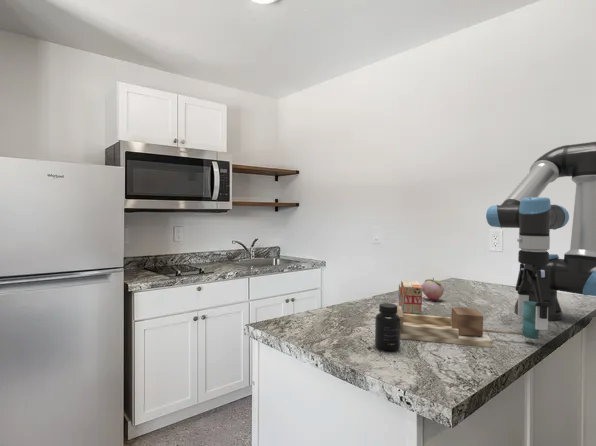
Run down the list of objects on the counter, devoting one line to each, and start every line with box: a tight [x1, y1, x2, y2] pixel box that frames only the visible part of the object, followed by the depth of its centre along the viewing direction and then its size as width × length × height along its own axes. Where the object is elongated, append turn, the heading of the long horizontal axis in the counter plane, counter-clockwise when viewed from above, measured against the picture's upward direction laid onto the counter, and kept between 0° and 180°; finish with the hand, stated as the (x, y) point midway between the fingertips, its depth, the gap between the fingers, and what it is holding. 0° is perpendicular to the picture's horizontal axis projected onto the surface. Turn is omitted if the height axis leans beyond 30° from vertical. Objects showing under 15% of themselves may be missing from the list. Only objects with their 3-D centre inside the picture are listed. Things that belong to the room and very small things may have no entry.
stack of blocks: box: [398, 279, 423, 315], centre depth 137 cm, size 21×6×12 cm, turn 169°
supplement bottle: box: [374, 302, 401, 353], centre depth 100 cm, size 7×7×12 cm
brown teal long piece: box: [451, 301, 540, 340], centre depth 109 cm, size 23×9×10 cm, turn 77°
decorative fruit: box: [421, 277, 445, 301], centre depth 159 cm, size 9×8×10 cm
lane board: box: [396, 305, 494, 348], centre depth 112 cm, size 26×14×6 cm, turn 77°
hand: (531, 322), depth 107 cm, fingers open, 13 cm apart
